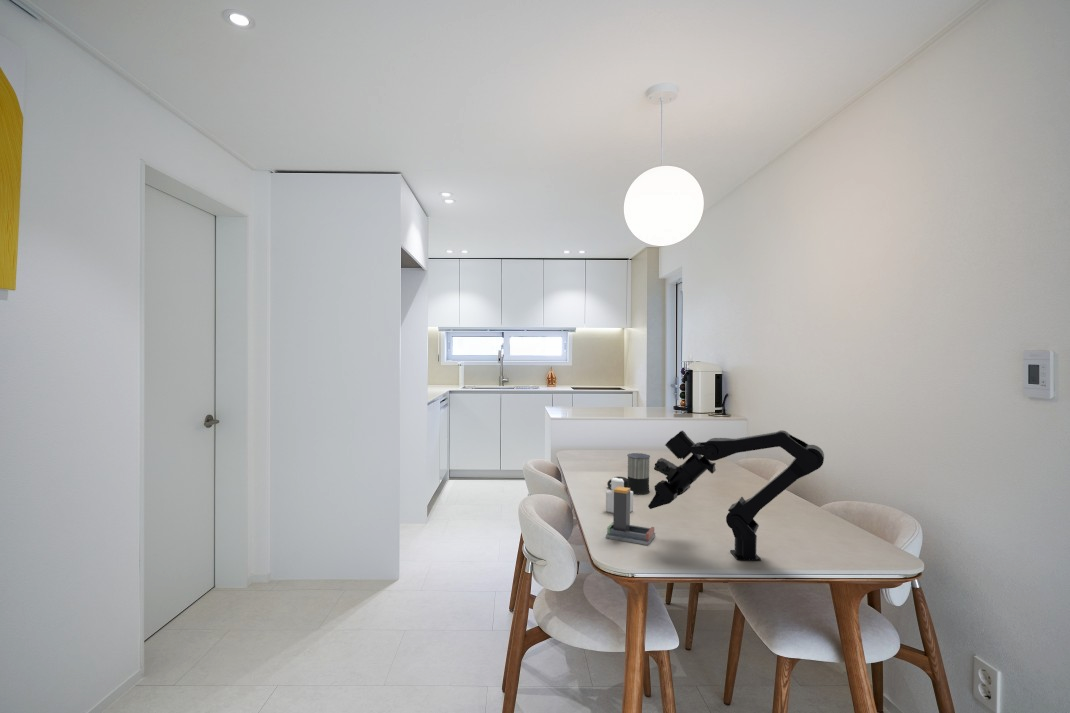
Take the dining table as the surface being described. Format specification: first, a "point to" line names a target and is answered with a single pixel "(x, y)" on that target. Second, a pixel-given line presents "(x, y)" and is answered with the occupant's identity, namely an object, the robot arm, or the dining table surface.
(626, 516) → the block
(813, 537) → the dining table surface
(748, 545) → the robot arm
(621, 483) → the medicine bottle
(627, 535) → the grey rectangular tray
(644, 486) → the milk frother
